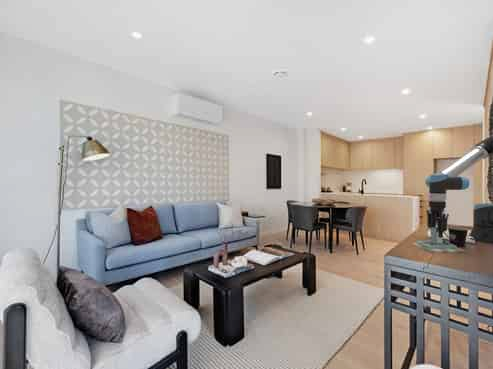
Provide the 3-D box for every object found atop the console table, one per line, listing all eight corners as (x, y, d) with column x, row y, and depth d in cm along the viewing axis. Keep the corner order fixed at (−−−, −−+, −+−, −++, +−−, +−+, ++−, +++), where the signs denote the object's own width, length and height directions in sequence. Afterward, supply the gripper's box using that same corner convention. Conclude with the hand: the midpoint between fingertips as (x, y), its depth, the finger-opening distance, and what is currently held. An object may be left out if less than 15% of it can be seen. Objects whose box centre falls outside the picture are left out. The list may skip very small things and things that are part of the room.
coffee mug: (471, 247, 135) (471, 230, 135) (453, 247, 137) (454, 229, 137) (457, 241, 147) (457, 225, 146) (441, 241, 149) (441, 225, 148)
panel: (442, 243, 141) (442, 225, 141) (456, 248, 131) (457, 229, 131) (416, 243, 141) (417, 225, 141) (429, 248, 131) (429, 230, 131)
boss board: (443, 244, 142) (443, 237, 142) (464, 252, 128) (464, 244, 128) (412, 244, 143) (413, 237, 142) (430, 252, 129) (430, 245, 128)
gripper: (420, 199, 143) (419, 237, 145) (442, 202, 127) (441, 246, 128) (432, 199, 143) (432, 237, 144) (456, 202, 127) (455, 246, 128)
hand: (436, 241), depth 136 cm, fingers closed on panel, 3 cm apart
